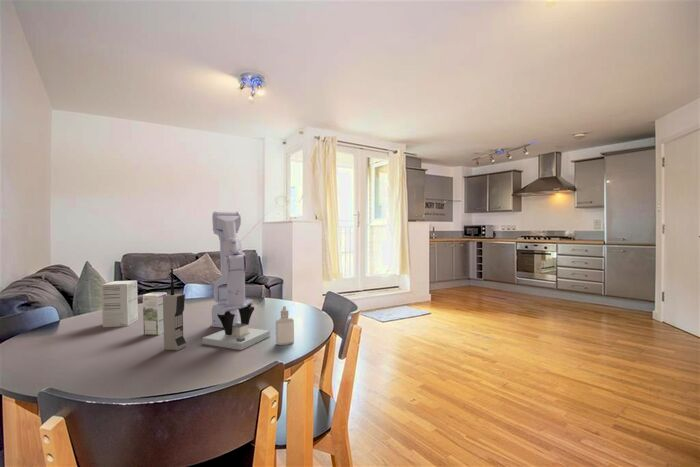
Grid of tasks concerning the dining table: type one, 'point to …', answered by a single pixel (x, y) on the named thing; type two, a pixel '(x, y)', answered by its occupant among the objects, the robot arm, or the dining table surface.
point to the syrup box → (153, 313)
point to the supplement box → (119, 303)
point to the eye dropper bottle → (284, 328)
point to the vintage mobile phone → (173, 319)
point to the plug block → (239, 330)
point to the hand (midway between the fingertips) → (236, 331)
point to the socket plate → (236, 339)
